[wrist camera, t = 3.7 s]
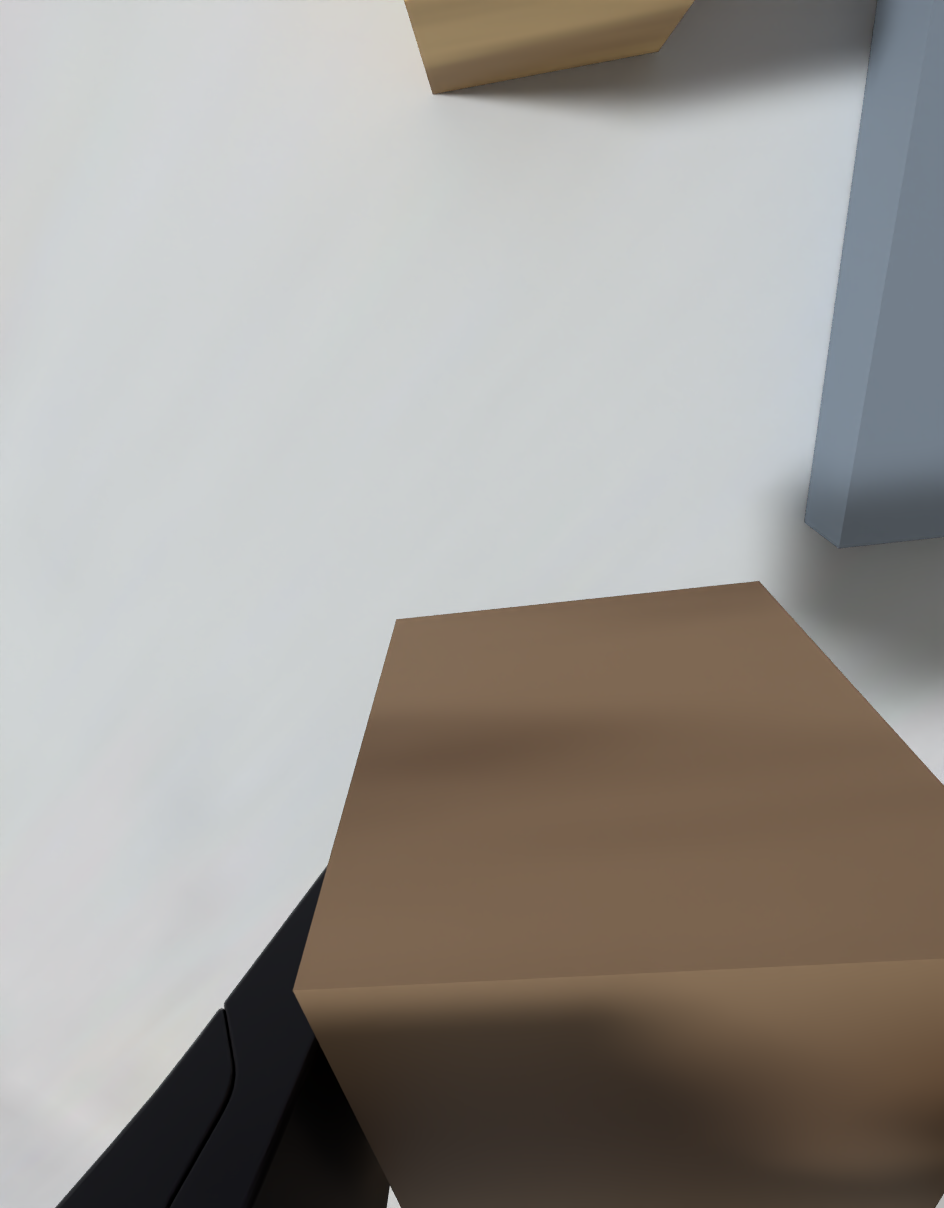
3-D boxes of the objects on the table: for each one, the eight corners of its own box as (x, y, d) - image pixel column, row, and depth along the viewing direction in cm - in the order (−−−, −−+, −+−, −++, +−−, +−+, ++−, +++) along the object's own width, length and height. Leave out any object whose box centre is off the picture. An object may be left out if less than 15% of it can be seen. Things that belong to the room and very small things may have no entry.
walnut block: (731, 835, 10) (910, 1245, 6) (449, 854, 11) (422, 1249, 6) (758, 581, 8) (1092, 950, 4) (396, 619, 8) (291, 991, 4)
